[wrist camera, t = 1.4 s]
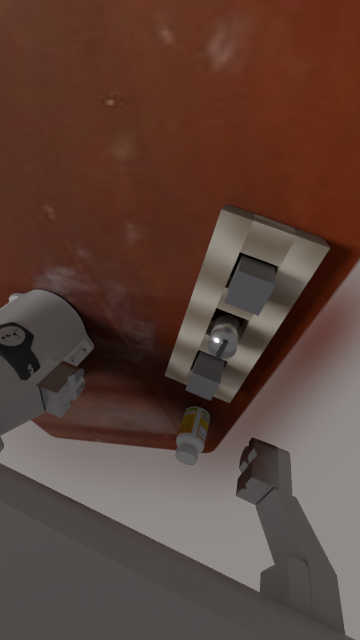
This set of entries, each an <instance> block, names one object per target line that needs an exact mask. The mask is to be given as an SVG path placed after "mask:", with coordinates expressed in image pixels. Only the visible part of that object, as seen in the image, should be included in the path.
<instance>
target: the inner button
mask: <svg viewBox="0 0 360 640" xmlns="http://www.w3.org/2000/svg"><path fill="white" fill-rule="evenodd" d="M224 363H225V360H223V359H217V358H215V356H213V355H210V354H208V353H205V352H203V351H200V353H199V355H198V358H197V360H196V362H195V365H194V367H193V370H192V372H191V375H190V378H189V381H188V384H187V387H186V389H185V390H186V391H188V392H191V393H193V394H195V395H198V396H200V397H203V398H205V399H207V400H210V401H211V399H212V397H213V396H214V394H215V392H216V390H217V389H218V387H219V385H220V382H221V377H222V372H223V367H224Z"/></svg>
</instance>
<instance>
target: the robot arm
mask: <svg viewBox="0 0 360 640" xmlns="http://www.w3.org/2000/svg"><path fill="white" fill-rule="evenodd" d="M93 349H94V344H93V342H92V341H91V339H90V338H89V337H88V335H87V333H86V330H85V327H84V324H83V322H82V320H81V318H80V317H79V315H78V314H77V312H76V311H75V310H74V309H73V308H72V307H71V306H70V305H69V304H68V303H67V302H66V301H65V300H63V299H62V298H61V297H59V296H57V295H55V294H53V293H51V292H48V291H44V290H33V291H30V292H28V293H25V294H20V293H14V294H12V295H11V296H10V297H9V303H8V304H7V305H5V306H4V307H2V308H1V309H0V436H1V435H3V434H4V433H6V432H8V431H10V430H12V429H14V428H16V427H18V426H19V425H21V424H23V423H25V422H27V421H29V420H31V419H33V418H35V417H37V416H39V415H41V414H42V413H44V412H45V411H46V412H48V413H51V414H53V415H56V416H58V417H60V418H61V417H62V416H63V415H64V414H65V412H66V411H67V410H68V409H69V408H70V406H71V401H72V400H75V399H77V398H78V397H79V395H80V394H81V393H82V391H83V389H84V385H85V380H84V378H83V377H82V376H83V375H84V369H82V368H80V367H77V366H78V365H79V364H80V363H81V362H82V361H83V360H84V359H85V357H86V356H87V355H88V354H89V353H90V352H91V351H92V350H93ZM3 448H4V444H3V442H2V439H1V437H0V452H1V450H2V449H3ZM239 469H240V471H241V473H242V474H241V475H240V477H239V478H238V482H237V492H236V496H238V497H240V498H242V499H244V500H246V501H248V502H250V503H252V504H254V505H256V509H257V512H258V515H259V518H260V521H261V524H262V527H263V530H264V533H265V536H266V539H267V542H268V545H269V548H270V551H271V554H272V557H273V560H274V563H275V565H274V566H271V567H269V568H268V569H266V570H264V571H263V572H261V579H260V592H258V591H256V590H254V589H252V588H250V587H248V586H246V585H244V584H242V583H240V582H238V581H236V580H234V579H232V578H230V577H228V576H226V575H223V574H221V573H220V572H218V571H216V570H214V569H212V568H210V567H208V566H206V565H204V564H202V563H200V562H198V561H195V560H193V559H192V558H190V557H187V556H186V555H184V554H182V553H179V552H177V551H175V550H173V549H171V548H169V547H167V546H165V545H163V544H161V543H159V542H157V541H155V540H153V539H151V538H149V537H147V536H145V535H143V534H141V533H139V532H137V531H135V530H133V529H131V528H129V527H127V526H125V525H123V524H121V523H119V522H117V521H115V520H113V519H111V518H109V517H107V516H105V515H103V514H101V513H99V512H97V511H95V510H93V509H91V508H89V507H87V506H85V505H83V504H81V503H79V502H77V501H75V500H73V499H71V498H69V497H67V496H65V495H63V494H61V493H59V492H57V491H55V490H53V489H51V488H49V487H47V486H45V485H43V484H41V483H39V482H37V481H35V480H33V479H31V478H29V477H27V476H25V475H23V474H21V473H19V472H17V471H15V470H13V469H11V468H9V467H7V466H5V465H3V464H1V463H0V640H354V639H352V638H350V637H348V636H346V635H345V630H344V623H343V616H342V610H341V602H340V595H339V588H338V581H337V575H336V574H335V571H334V570H333V568H332V566H331V564H330V562H329V560H328V558H327V556H326V554H325V552H324V550H323V548H322V547H321V545H320V543H319V541H318V539H317V537H316V535H315V533H314V531H313V529H312V527H311V525H310V523H309V521H308V520H307V518H306V516H305V514H304V512H303V510H302V508H301V506H300V504H299V502H298V500H297V498H296V497H294V496H292V481H291V461H290V454H289V452H288V451H285V450H283V449H280V448H278V447H276V446H274V445H271V444H268V443H266V442H263V441H260V440H258V439H255V438H251V440H250V441H249V446H246V447H245V449H244V450H243V453H242V455H241V459H240V466H239Z"/></svg>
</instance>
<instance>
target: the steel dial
mask: <svg viewBox="0 0 360 640" xmlns="http://www.w3.org/2000/svg"><path fill="white" fill-rule="evenodd" d="M239 332H240V323H239V321H238V320H237V319H236V318H235V317H233V316H230V315H222V316H219V317H218V318H217V319H216V320H215V323H214V326H213V329H212V332H211V335H210V338H209V341H208V350H209V352H210V353H211V354H212V355H213V356H215V358H217V359H228V358H231V357H233V356H234V355H235V353H236V351H237V344H238V338H239Z"/></svg>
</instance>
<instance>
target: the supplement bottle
mask: <svg viewBox="0 0 360 640" xmlns="http://www.w3.org/2000/svg"><path fill="white" fill-rule="evenodd" d="M209 422H210V415H209V413H208V412H207V411H206V410H205V409H203V408H201V407H198V406H191V407H188V408H187V409H186V411H185V414H184V417H183V420H182V423H181V426H180V429H179V432H178V435H177V439H176V442H177V445H178V448H177V451H176V458H177V459H178V460H179V461H180V462H182V463H185V464H188V465H194V464H196V462H197V459H198V454H199V453H201V452H202V451H203V449H204V445H205V440H206V436H207V431H208V426H209Z"/></svg>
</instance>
